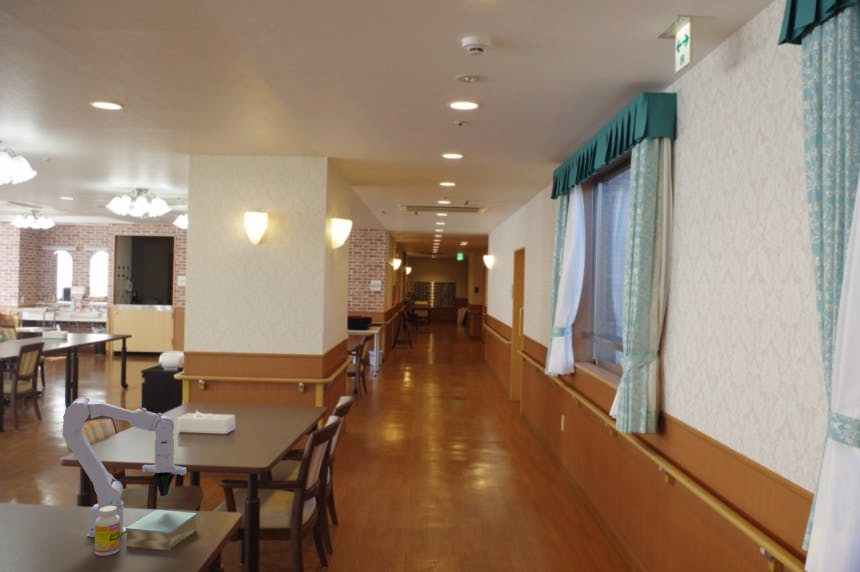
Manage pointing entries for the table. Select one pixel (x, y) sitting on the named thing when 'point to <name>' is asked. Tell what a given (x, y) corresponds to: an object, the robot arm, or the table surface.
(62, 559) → the table surface
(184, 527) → the box
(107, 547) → the supplement bottle
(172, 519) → the lid
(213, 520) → the table surface
